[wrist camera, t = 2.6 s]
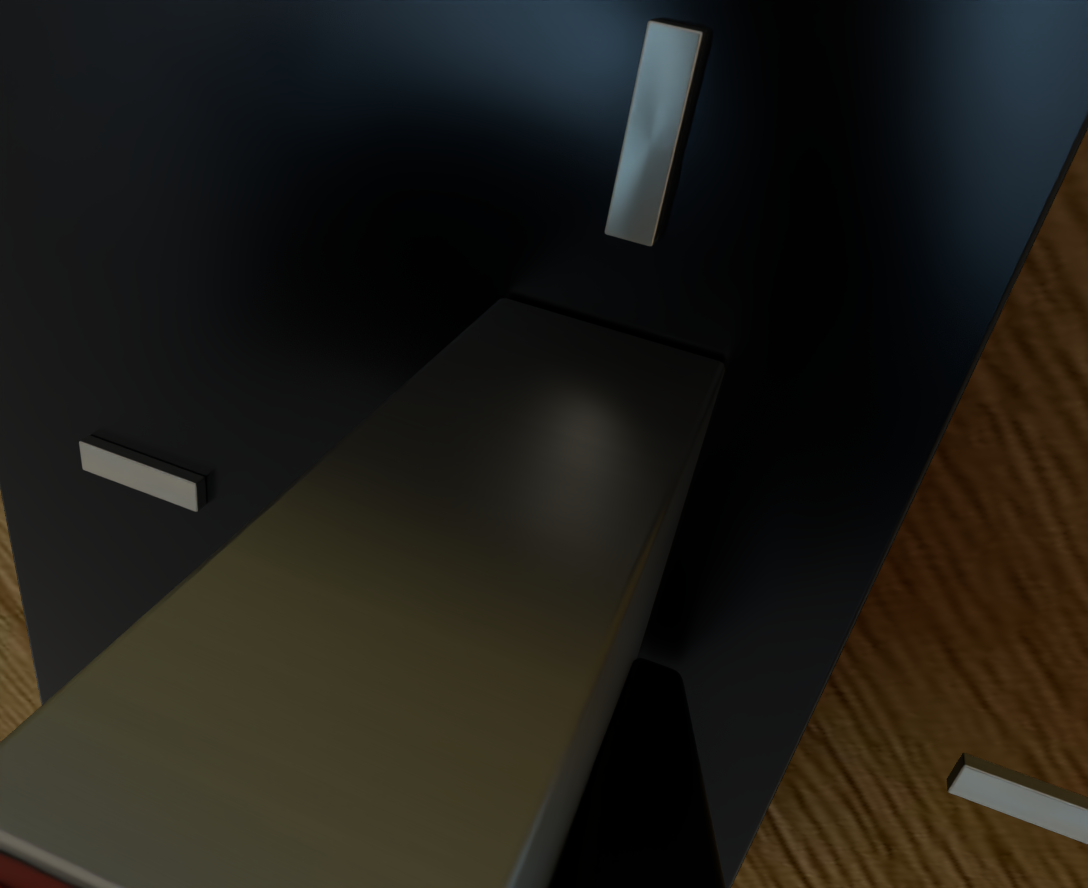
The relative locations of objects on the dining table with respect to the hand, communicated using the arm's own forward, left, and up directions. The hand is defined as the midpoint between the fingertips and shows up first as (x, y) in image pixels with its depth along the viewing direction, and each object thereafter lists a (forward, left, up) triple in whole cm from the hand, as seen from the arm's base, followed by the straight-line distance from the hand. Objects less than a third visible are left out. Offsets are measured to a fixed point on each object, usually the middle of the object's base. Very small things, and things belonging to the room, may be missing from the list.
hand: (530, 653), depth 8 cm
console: (0, +1, -4) cm, 4 cm away
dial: (0, 0, 0) cm, 0 cm away
